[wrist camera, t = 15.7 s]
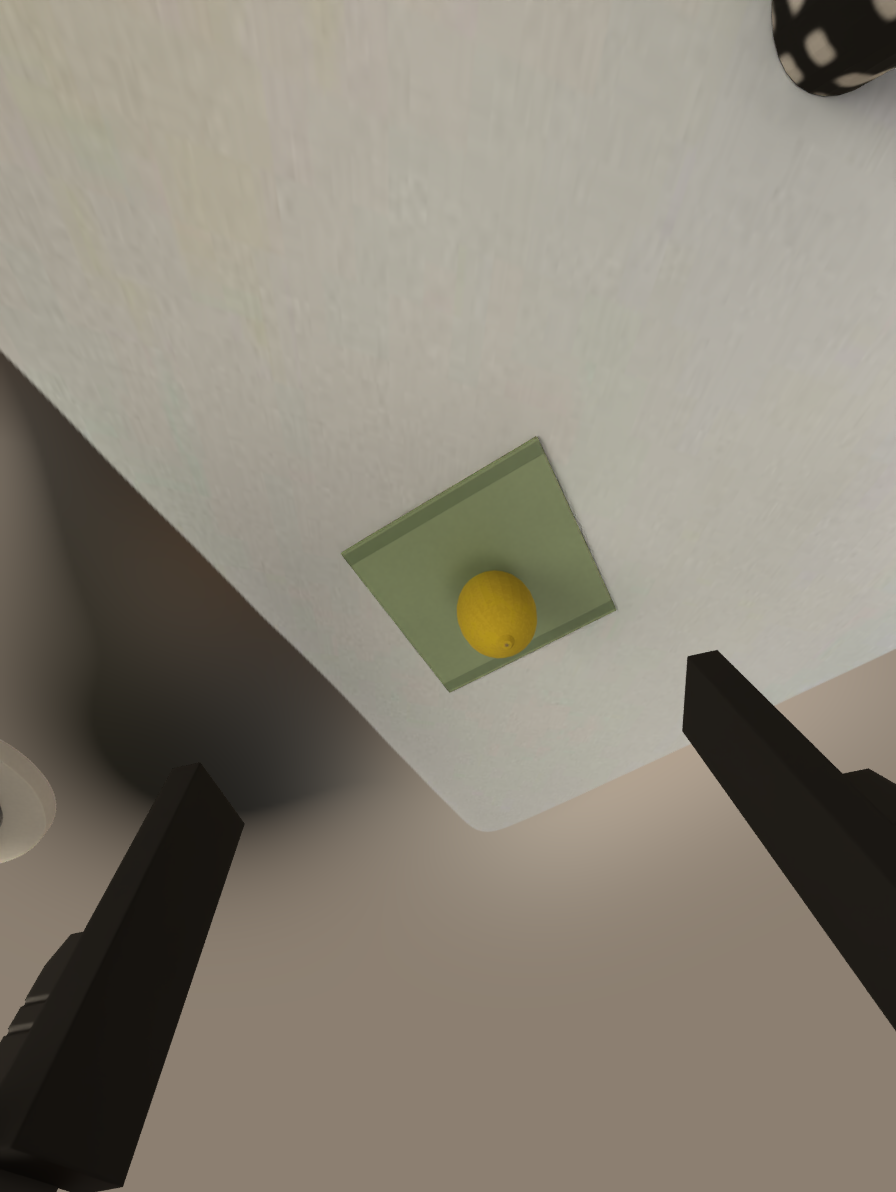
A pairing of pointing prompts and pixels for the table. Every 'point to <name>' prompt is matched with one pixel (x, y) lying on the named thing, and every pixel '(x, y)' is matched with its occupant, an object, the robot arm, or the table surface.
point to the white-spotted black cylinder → (835, 42)
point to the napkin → (483, 561)
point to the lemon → (497, 614)
